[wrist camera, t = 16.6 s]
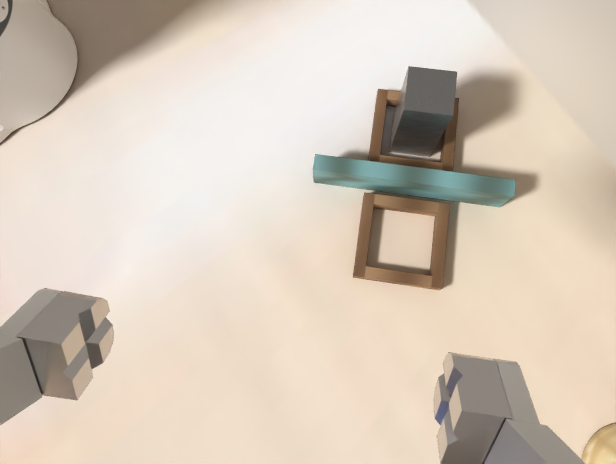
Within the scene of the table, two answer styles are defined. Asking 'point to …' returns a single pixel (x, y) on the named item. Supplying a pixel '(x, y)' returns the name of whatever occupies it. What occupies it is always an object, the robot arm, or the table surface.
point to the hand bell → (601, 447)
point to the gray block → (423, 110)
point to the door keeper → (409, 192)
